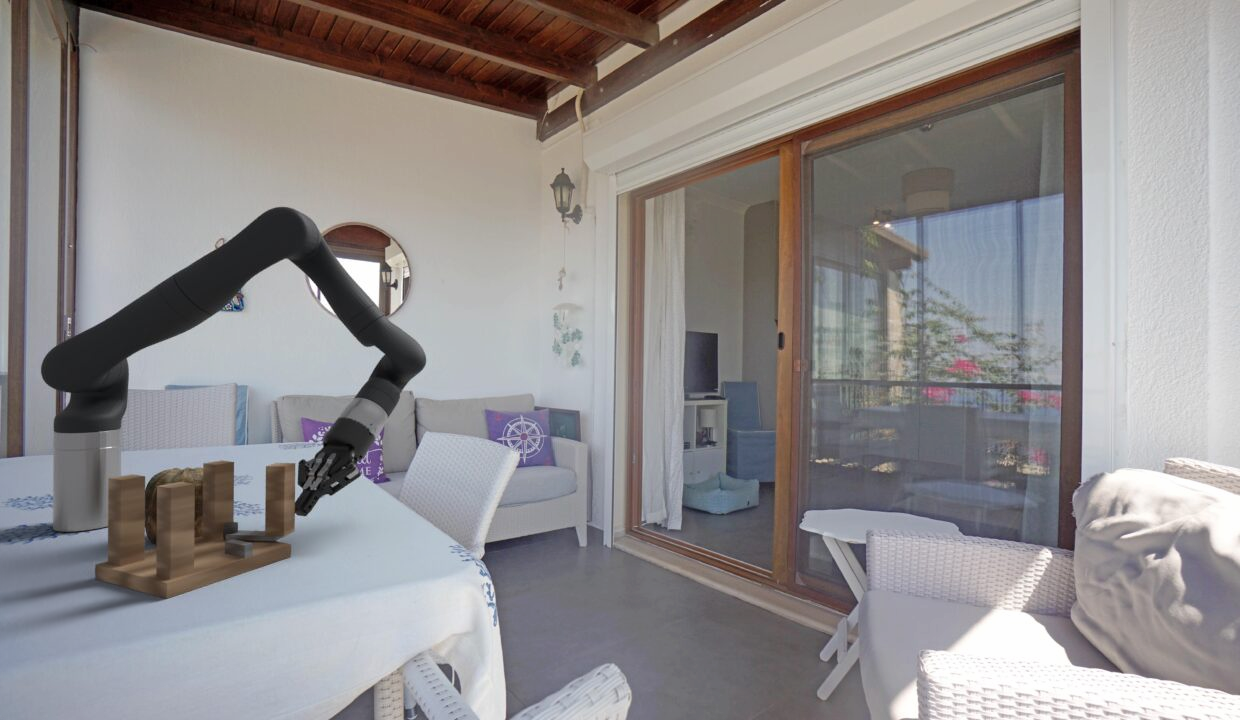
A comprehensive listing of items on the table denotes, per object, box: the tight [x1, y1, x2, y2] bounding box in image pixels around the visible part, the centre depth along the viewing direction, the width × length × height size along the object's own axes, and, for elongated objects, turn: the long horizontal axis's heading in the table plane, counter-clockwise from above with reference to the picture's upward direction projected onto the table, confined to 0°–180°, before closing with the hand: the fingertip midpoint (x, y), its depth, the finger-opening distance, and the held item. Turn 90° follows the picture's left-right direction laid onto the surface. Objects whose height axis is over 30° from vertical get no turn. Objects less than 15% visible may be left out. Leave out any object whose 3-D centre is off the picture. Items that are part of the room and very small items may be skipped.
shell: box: [145, 466, 203, 544], centre depth 104 cm, size 11×11×12 cm
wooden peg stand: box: [94, 459, 292, 600], centre depth 90 cm, size 16×18×14 cm
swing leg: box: [223, 462, 296, 542], centre depth 97 cm, size 10×3×12 cm, turn 89°
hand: (298, 513), depth 99 cm, fingers closed
